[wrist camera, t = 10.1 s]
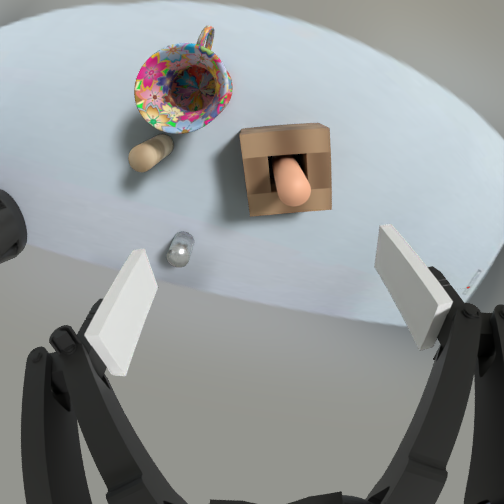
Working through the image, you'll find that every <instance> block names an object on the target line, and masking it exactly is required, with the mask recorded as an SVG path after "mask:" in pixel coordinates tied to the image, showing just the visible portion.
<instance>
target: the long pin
mask: <svg viewBox="0 0 504 504" xmlns="http://www.w3.org/2000/svg"><path fill="white" fill-rule="evenodd" d="M271 163H272V168H273V173H274V178H275V182H276V187H277V192H278V196H279V198H280V200H281V201H282V202H283V203H284V204H286V205H288V206H300V205H302V204H304V203H305V202H306V201H307V200H308V199H309V197H310V194H311V187H310V184H309V182H308V180H307V178H306V177H305V175H304V173H303V171H302V170H301V168H300V166H299V164H298V163H297V161H296V159H295V158H294V156H293V155H292V154H288V155H276V156H273V157H272V160H271Z"/></svg>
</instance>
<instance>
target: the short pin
mask: <svg viewBox="0 0 504 504" xmlns="http://www.w3.org/2000/svg"><path fill="white" fill-rule="evenodd" d="M193 245H194V238H193V236H192V235H191V234H189V233H188V232H179V233H177V234H176V235H175V237H174V239H173V241H172V244H171V246H170V248H169V250H168V253H167V260H168V262H169V263H170V264H171V265H172V266H174V267H179V268H180V267H184V266H186V265H187V263H188V261H189V258H190V255H191V252H192V248H193Z"/></svg>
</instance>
